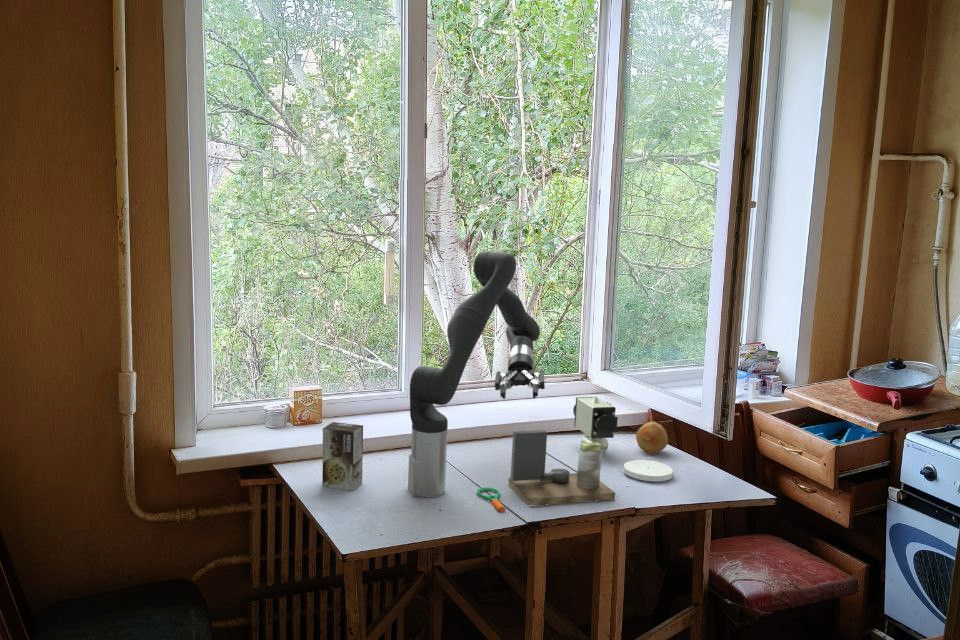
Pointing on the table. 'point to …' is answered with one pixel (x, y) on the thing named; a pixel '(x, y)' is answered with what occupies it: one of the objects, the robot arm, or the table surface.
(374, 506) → the table surface
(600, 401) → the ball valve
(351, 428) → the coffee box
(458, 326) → the robot arm
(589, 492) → the base
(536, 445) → the grey panel with handle
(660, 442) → the onion
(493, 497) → the magnifying glass
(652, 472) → the plastic lid
